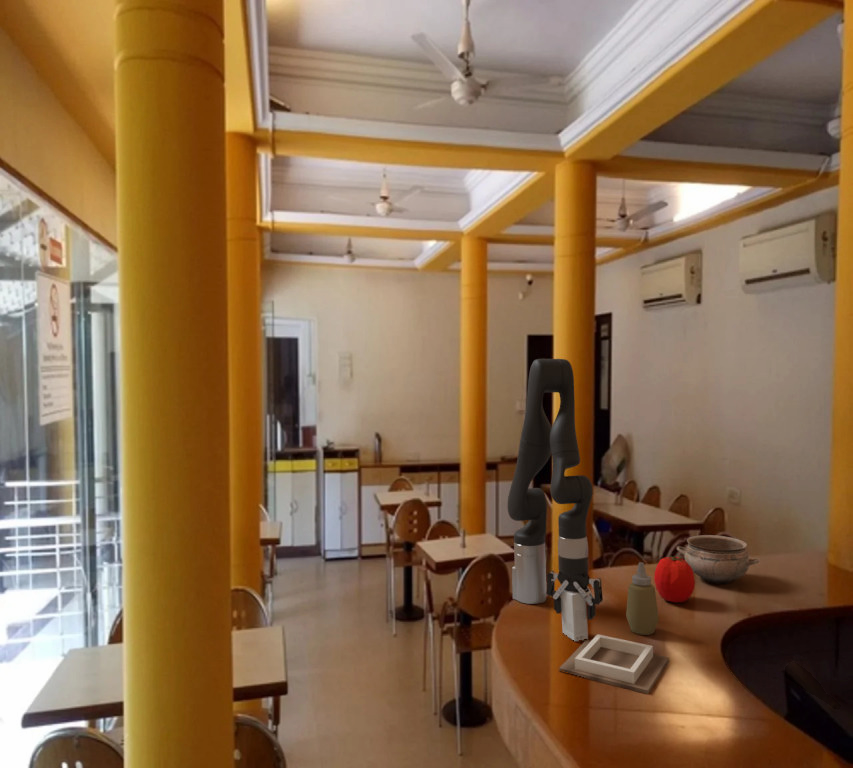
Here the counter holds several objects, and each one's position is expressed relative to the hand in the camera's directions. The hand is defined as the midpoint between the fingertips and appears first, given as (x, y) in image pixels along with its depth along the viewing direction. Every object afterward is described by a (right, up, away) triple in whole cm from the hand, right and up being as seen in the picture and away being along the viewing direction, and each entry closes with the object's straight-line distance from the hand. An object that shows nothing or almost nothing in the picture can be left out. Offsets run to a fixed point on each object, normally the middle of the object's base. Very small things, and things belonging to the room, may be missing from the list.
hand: (574, 615), depth 167 cm
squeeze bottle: (+18, -5, +2) cm, 19 cm away
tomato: (+34, -4, +23) cm, 42 cm away
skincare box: (0, -6, 0) cm, 6 cm away
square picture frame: (+6, -6, -17) cm, 18 cm away
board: (+6, -6, -17) cm, 18 cm away
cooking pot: (+54, -3, +40) cm, 67 cm away
